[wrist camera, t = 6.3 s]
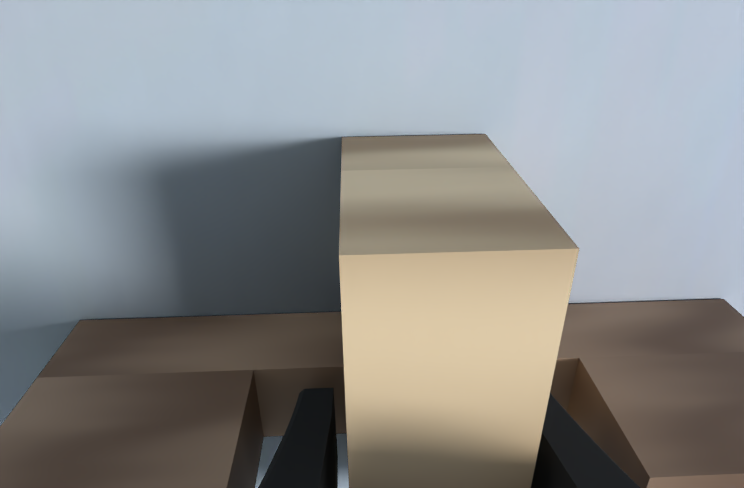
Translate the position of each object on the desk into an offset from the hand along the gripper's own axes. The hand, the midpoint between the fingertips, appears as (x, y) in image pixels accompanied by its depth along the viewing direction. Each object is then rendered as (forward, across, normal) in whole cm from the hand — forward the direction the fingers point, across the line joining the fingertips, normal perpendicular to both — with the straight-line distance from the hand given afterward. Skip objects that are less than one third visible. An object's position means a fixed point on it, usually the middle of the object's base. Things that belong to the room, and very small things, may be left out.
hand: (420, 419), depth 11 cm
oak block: (+3, 0, 0) cm, 3 cm away
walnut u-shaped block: (+3, 0, 0) cm, 3 cm away
